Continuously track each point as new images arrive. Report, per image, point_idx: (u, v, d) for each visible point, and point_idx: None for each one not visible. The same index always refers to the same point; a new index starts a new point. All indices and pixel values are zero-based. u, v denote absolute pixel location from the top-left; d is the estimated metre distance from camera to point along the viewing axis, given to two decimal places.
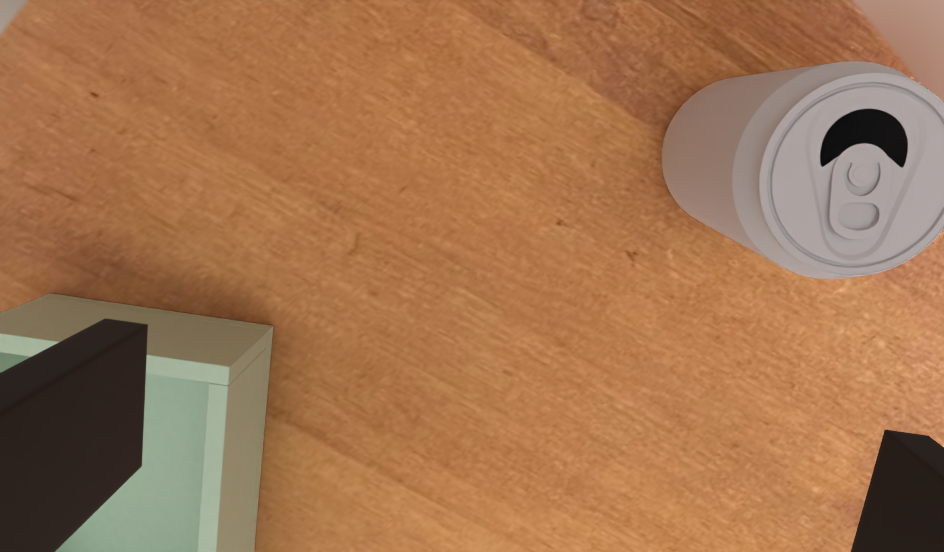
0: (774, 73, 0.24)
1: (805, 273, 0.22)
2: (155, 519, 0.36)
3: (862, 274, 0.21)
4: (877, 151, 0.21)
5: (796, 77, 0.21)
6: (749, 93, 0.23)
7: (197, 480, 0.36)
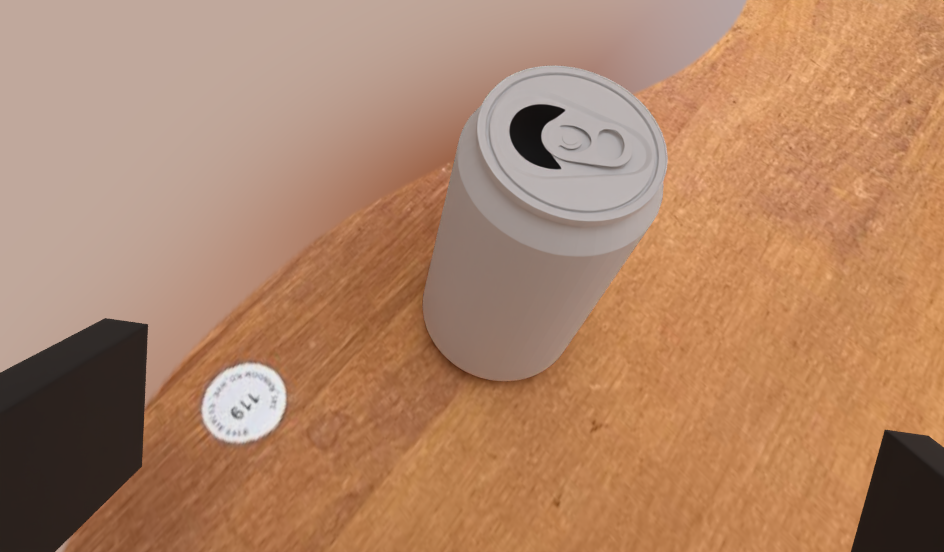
0: (445, 233, 0.24)
1: (659, 201, 0.22)
2: None
3: (664, 149, 0.22)
4: (549, 126, 0.22)
5: (467, 189, 0.21)
6: (466, 248, 0.23)
7: None
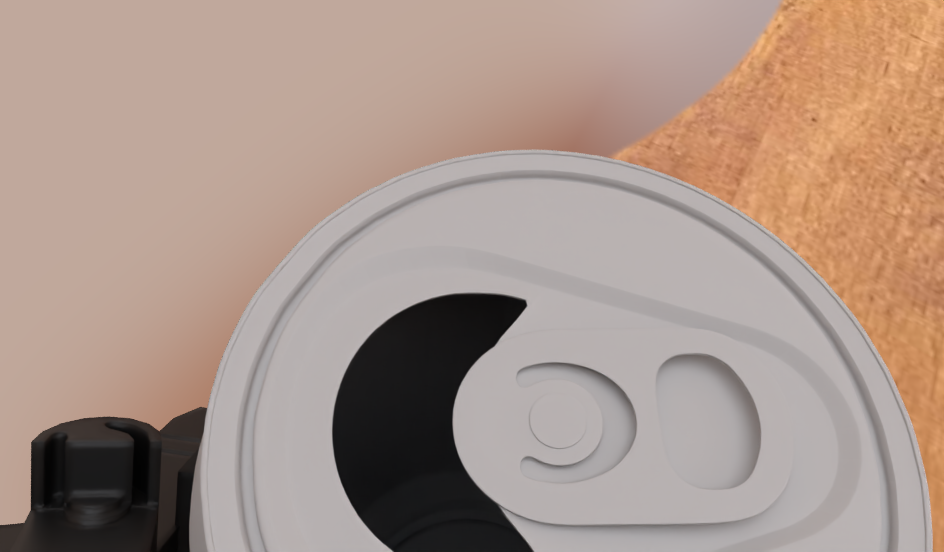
0: None
1: None
2: None
3: (886, 387, 0.06)
4: (479, 378, 0.06)
5: None
6: None
7: None
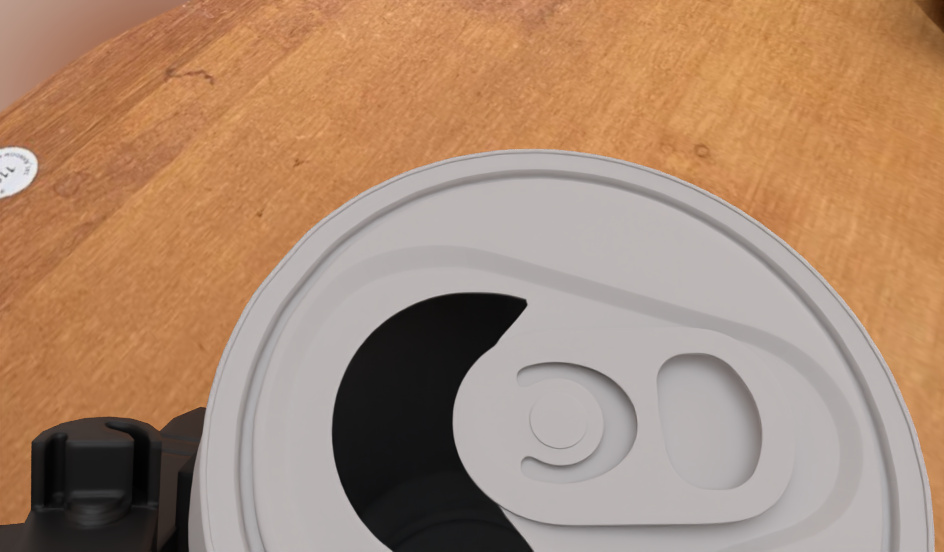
0: None
1: None
2: None
3: (888, 386, 0.06)
4: (479, 379, 0.06)
5: None
6: None
7: None
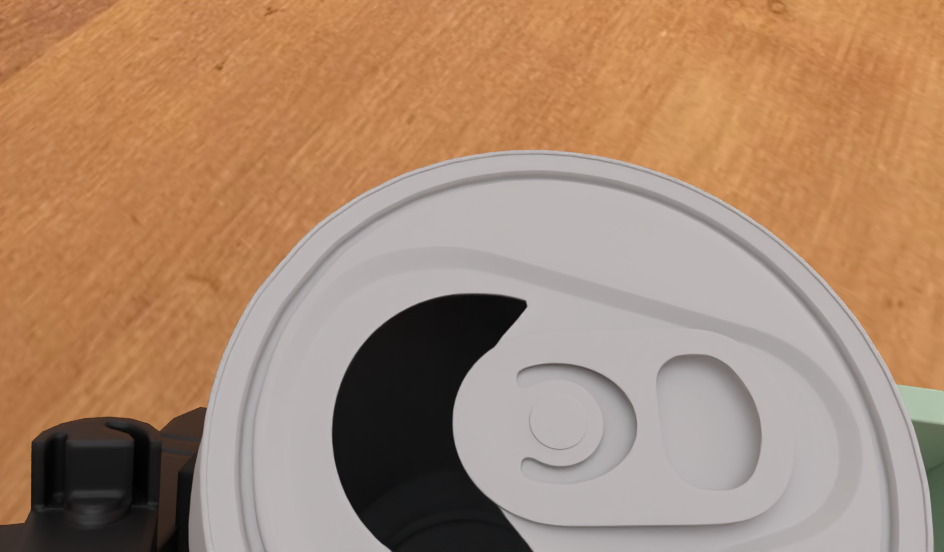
0: None
1: None
2: None
3: (887, 387, 0.06)
4: (479, 380, 0.06)
5: None
6: None
7: None
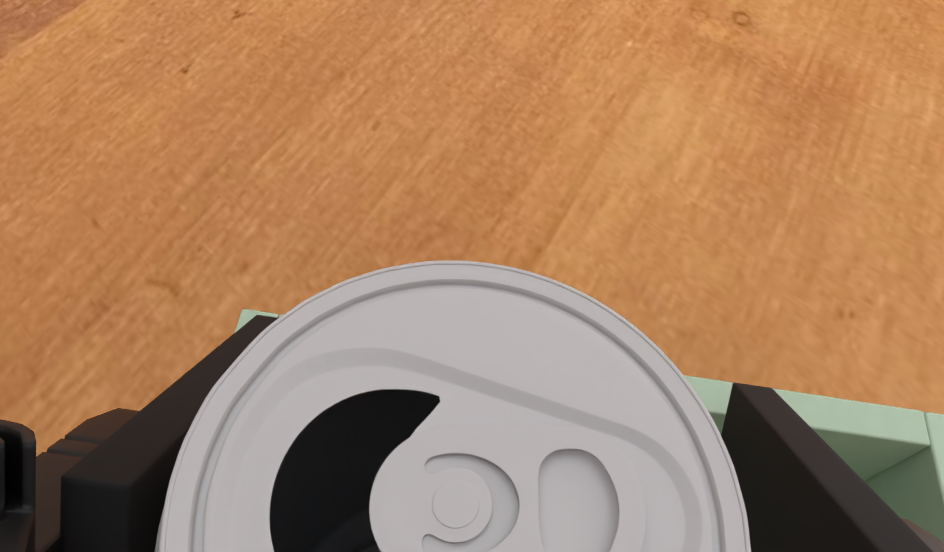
0: None
1: None
2: None
3: (732, 478, 0.08)
4: (394, 465, 0.07)
5: None
6: None
7: None
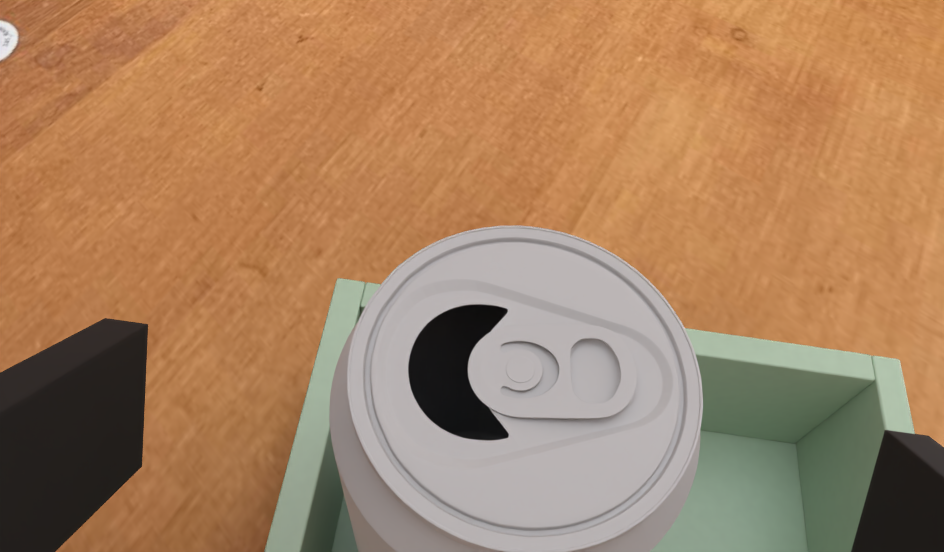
0: None
1: (696, 449, 0.12)
2: (661, 549, 0.22)
3: (693, 358, 0.12)
4: (481, 348, 0.12)
5: (347, 485, 0.12)
6: None
7: None
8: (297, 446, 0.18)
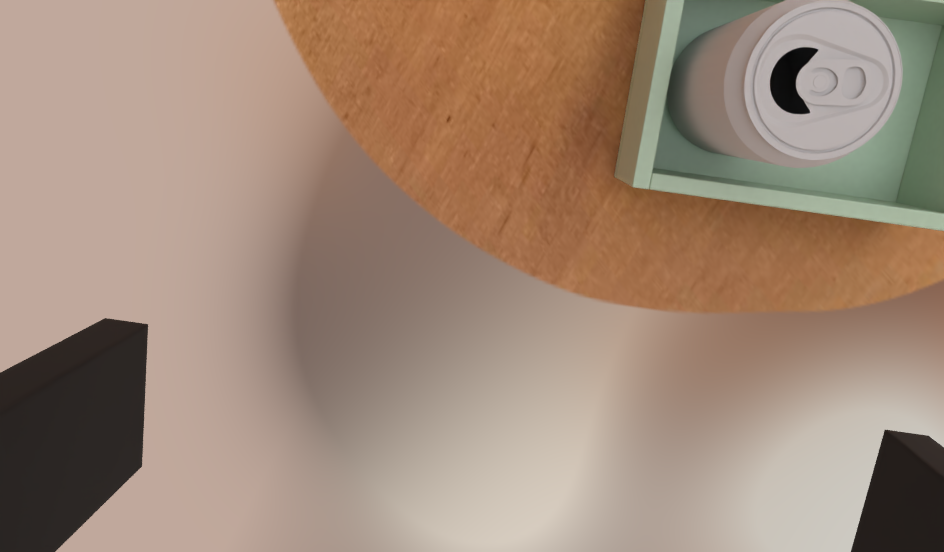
0: (703, 110, 0.32)
1: None
2: None
3: (901, 73, 0.27)
4: (803, 70, 0.27)
5: (732, 123, 0.28)
6: (723, 137, 0.31)
7: None
8: (658, 61, 0.34)
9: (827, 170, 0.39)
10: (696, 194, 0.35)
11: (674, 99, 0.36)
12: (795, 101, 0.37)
